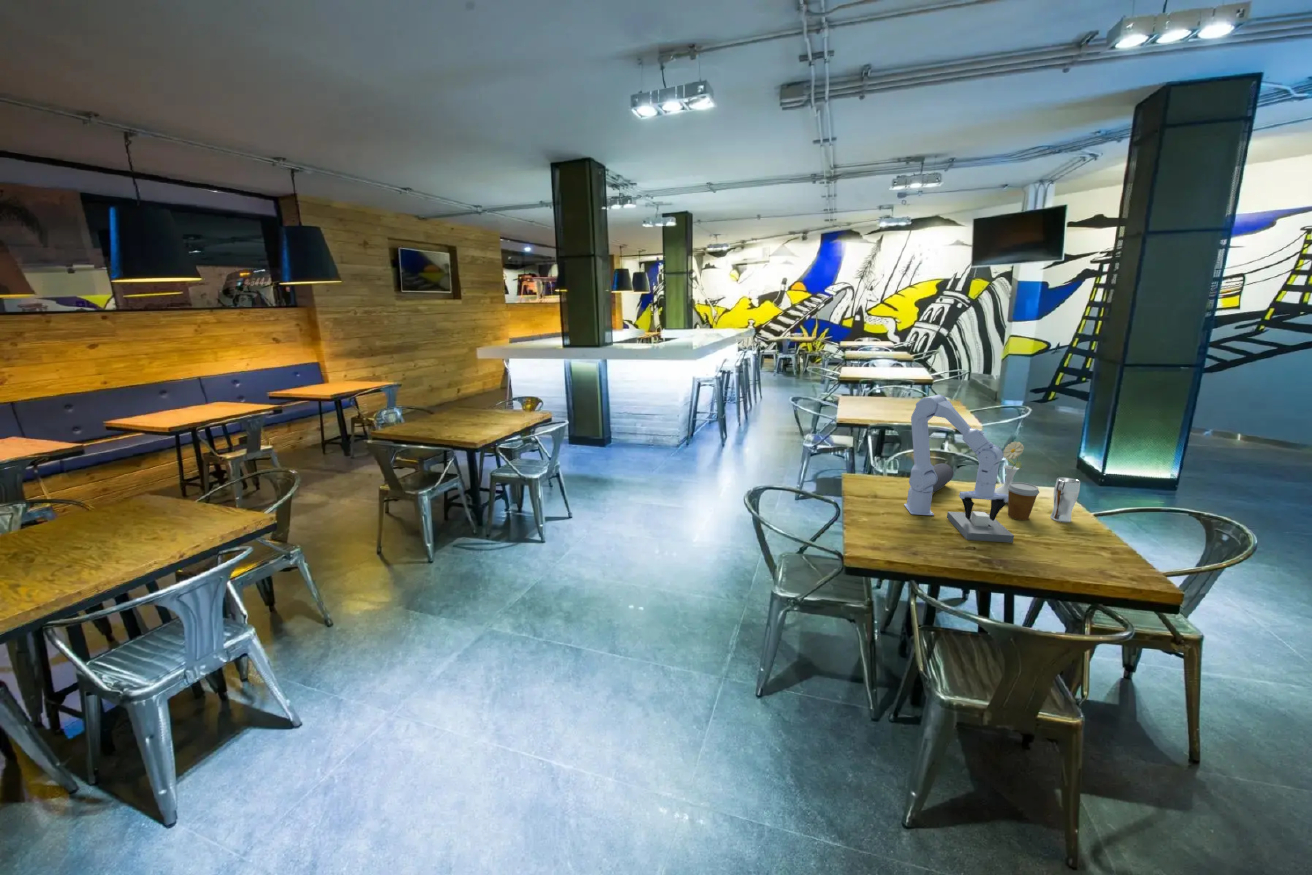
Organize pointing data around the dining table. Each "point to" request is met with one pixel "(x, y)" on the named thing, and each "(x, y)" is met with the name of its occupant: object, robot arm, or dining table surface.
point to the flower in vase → (1010, 452)
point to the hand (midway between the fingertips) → (979, 518)
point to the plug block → (979, 519)
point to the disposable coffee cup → (1021, 500)
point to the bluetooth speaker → (942, 475)
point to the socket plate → (980, 529)
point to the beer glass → (1065, 498)
